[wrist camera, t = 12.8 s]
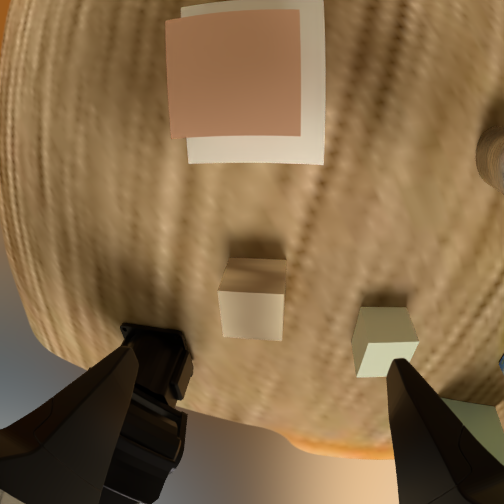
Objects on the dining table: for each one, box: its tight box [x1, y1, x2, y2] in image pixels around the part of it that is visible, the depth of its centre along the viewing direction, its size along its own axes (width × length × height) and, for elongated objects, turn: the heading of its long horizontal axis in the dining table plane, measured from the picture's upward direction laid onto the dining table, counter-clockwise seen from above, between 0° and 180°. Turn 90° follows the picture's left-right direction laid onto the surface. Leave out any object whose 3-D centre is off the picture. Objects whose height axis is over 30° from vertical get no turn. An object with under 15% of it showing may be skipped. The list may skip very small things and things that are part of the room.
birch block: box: [218, 257, 286, 341], centre depth 21 cm, size 4×4×4 cm
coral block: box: [165, 9, 301, 139], centre depth 12 cm, size 5×5×6 cm
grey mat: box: [181, 0, 326, 165], centre depth 15 cm, size 8×10×1 cm
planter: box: [441, 398, 504, 465], centre depth 22 cm, size 16×8×20 cm, turn 68°
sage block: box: [351, 307, 419, 377], centre depth 22 cm, size 4×4×4 cm
